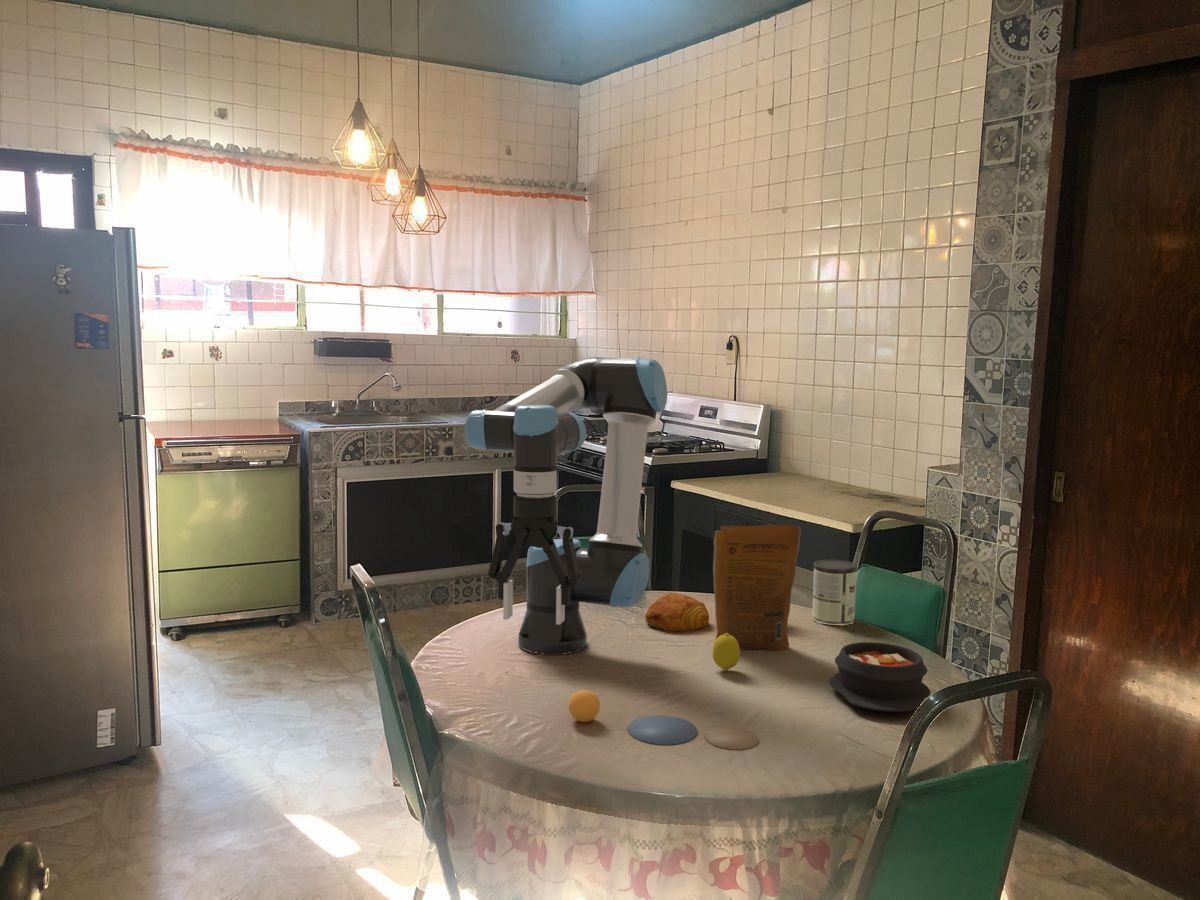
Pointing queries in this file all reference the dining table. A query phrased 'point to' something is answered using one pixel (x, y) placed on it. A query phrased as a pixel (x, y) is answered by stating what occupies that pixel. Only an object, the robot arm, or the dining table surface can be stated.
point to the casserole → (880, 677)
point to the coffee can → (834, 591)
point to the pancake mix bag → (755, 583)
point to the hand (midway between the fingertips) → (533, 619)
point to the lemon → (726, 651)
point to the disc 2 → (732, 738)
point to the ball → (584, 705)
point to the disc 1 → (662, 730)
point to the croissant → (677, 613)
